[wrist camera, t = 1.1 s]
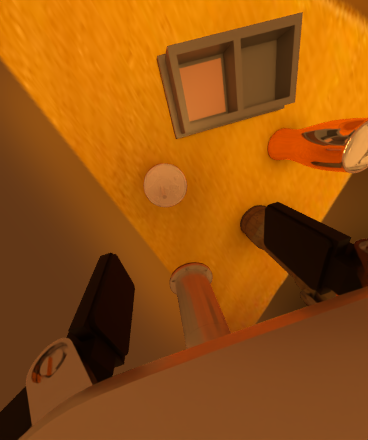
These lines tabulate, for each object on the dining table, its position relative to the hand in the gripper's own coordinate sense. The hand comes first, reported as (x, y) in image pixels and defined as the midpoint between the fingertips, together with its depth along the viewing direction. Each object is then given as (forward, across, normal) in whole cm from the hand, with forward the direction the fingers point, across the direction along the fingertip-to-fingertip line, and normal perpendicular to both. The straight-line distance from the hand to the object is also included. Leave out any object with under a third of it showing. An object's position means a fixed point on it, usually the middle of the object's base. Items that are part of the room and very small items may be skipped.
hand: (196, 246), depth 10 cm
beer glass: (+25, -25, +1) cm, 36 cm away
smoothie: (+25, +1, 0) cm, 25 cm away
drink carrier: (+25, -14, -11) cm, 31 cm away
